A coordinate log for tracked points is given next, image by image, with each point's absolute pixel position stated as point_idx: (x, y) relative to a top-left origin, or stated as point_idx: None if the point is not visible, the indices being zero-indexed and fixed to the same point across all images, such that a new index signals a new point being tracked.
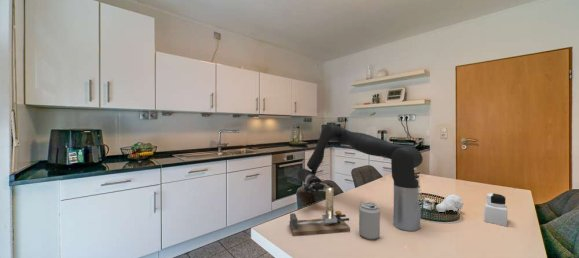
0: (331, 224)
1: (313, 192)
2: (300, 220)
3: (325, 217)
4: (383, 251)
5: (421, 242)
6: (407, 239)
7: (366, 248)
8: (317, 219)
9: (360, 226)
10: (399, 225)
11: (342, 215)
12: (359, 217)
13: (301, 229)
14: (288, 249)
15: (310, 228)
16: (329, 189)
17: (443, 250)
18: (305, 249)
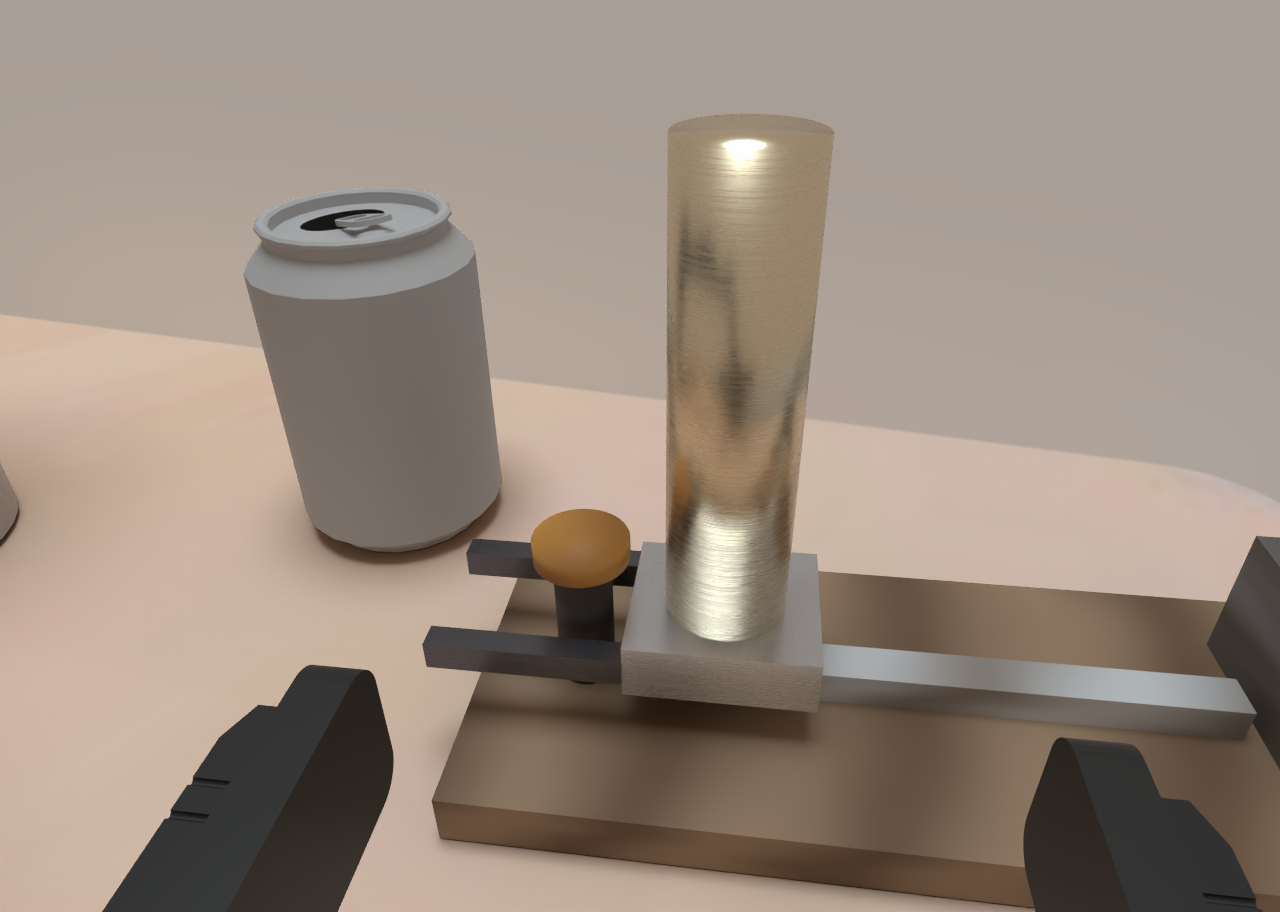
0: None
1: (1055, 792)
2: None
3: (797, 593)
4: (497, 384)
5: (147, 396)
6: (184, 428)
7: (581, 414)
8: (875, 836)
9: (489, 426)
10: (1, 493)
11: (484, 633)
12: (469, 366)
13: (1148, 633)
14: (1221, 494)
15: (1021, 628)
16: (780, 120)
17: (150, 344)
18: (1064, 473)
